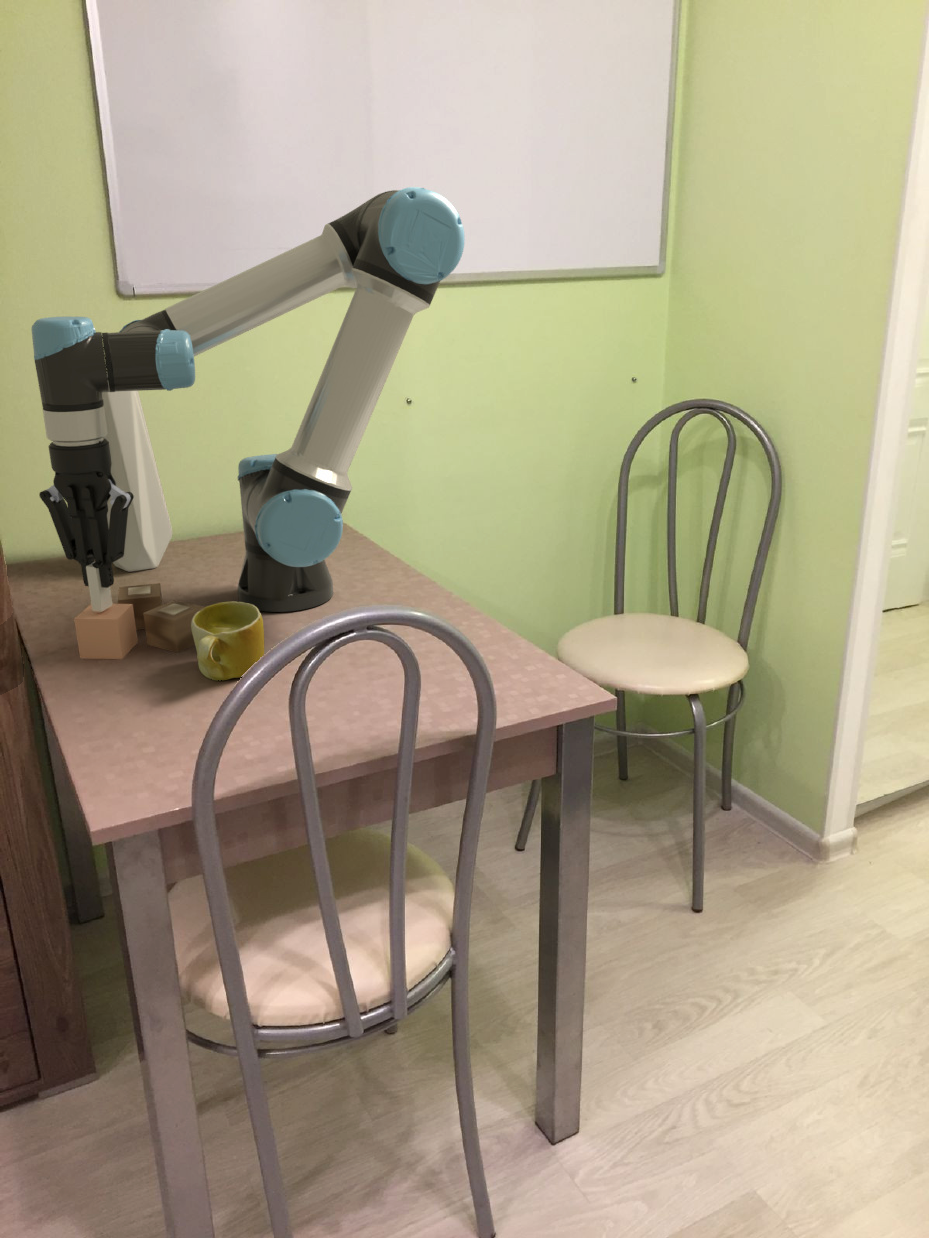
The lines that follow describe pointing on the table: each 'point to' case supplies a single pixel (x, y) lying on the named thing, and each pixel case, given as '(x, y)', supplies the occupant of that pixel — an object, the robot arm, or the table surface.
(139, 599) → the walnut block
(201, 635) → the mug
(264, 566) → the robot arm
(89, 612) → the plain block
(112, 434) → the vase
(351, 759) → the table surface
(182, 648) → the walnut block
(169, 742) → the table surface
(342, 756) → the table surface
